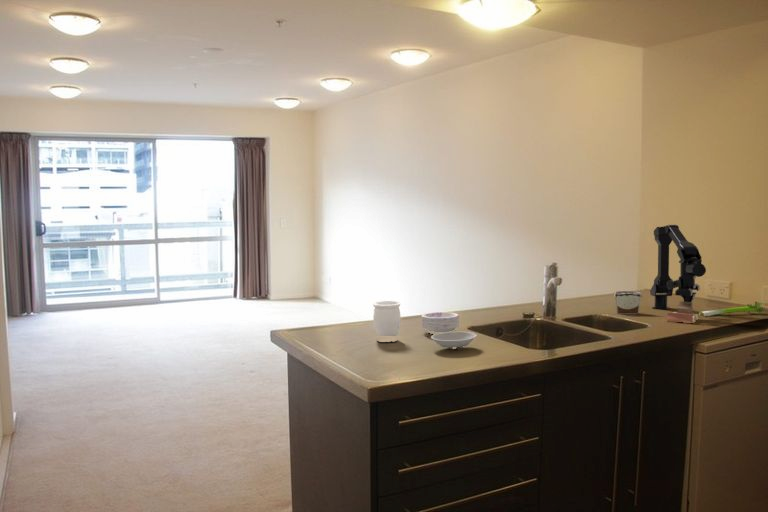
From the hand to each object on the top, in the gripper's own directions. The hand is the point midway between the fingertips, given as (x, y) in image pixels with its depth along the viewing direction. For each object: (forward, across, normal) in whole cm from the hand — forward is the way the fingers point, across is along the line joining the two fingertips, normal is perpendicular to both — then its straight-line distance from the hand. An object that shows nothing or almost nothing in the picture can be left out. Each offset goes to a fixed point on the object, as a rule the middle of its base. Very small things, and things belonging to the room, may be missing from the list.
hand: (687, 308), depth 271 cm
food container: (+4, +1, -26) cm, 27 cm away
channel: (+4, +7, 0) cm, 8 cm away
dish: (+2, +106, -56) cm, 120 cm away
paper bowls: (+2, +86, -75) cm, 114 cm away
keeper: (+3, +1, 0) cm, 3 cm away
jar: (+1, +109, -85) cm, 138 cm away
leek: (+5, -19, +15) cm, 24 cm away
